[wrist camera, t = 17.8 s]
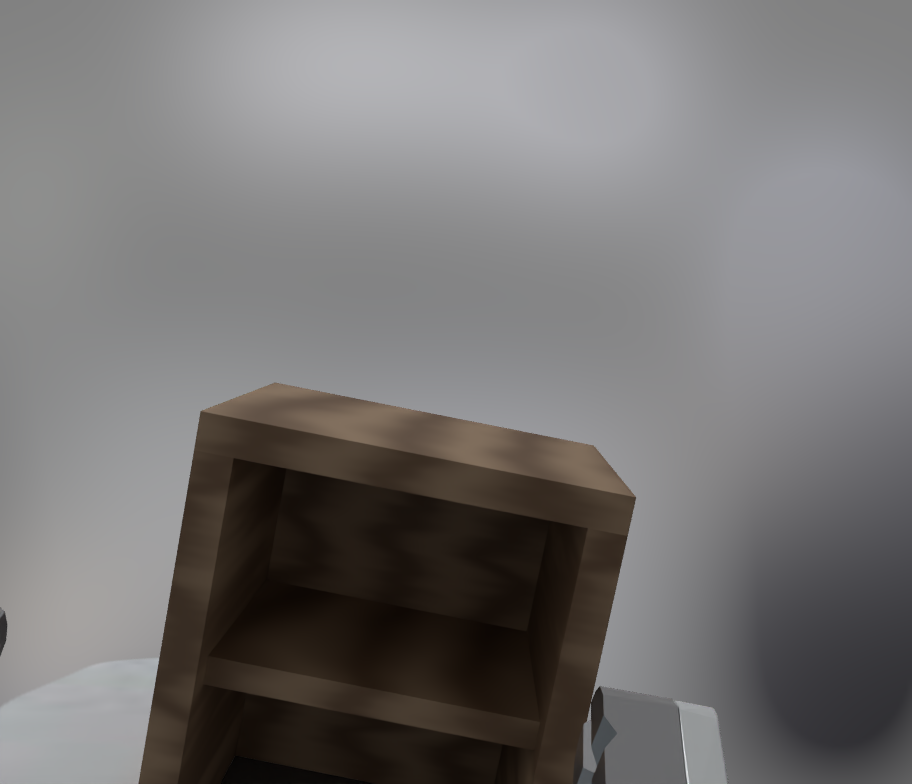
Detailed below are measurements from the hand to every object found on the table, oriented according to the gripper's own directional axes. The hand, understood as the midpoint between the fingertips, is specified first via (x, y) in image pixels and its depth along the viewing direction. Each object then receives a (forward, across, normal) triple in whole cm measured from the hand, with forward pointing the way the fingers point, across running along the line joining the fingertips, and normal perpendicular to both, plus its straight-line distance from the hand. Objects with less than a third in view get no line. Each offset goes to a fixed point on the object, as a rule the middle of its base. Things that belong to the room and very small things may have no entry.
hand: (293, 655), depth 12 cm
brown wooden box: (+21, +1, +44) cm, 49 cm away
